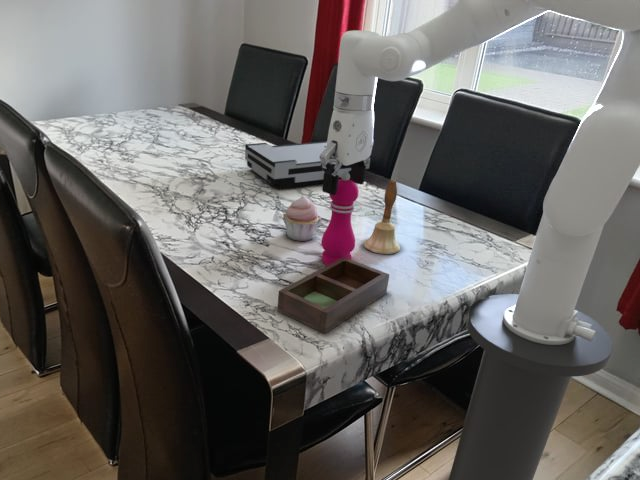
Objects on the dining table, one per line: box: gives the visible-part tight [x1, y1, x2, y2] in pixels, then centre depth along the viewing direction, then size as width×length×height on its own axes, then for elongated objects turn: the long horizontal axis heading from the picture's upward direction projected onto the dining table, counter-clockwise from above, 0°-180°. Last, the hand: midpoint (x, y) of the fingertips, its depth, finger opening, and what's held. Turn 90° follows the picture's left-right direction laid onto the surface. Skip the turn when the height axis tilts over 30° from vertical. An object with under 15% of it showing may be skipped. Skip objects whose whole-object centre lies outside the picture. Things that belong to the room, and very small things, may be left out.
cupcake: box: [282, 195, 322, 242], centre depth 135 cm, size 9×9×10 cm
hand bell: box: [363, 179, 401, 255], centre depth 130 cm, size 8×8×16 cm
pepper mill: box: [320, 172, 360, 266], centre depth 121 cm, size 7×7×20 cm
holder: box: [277, 257, 390, 335], centre depth 109 cm, size 11×21×4 cm, turn 138°
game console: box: [244, 140, 371, 191], centre depth 177 cm, size 21×32×8 cm, turn 114°
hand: (343, 187), depth 118 cm, fingers open, 9 cm apart
